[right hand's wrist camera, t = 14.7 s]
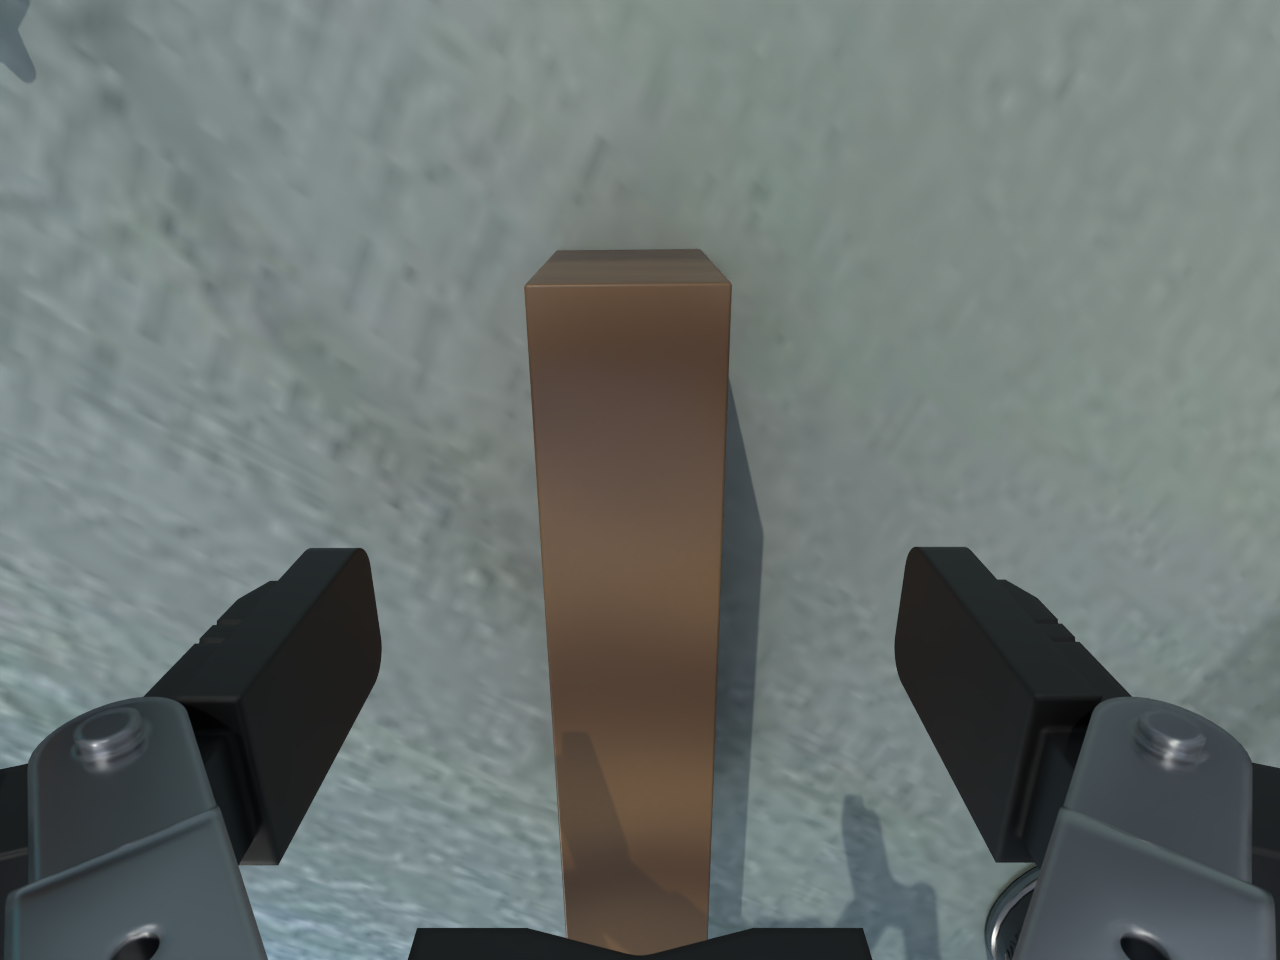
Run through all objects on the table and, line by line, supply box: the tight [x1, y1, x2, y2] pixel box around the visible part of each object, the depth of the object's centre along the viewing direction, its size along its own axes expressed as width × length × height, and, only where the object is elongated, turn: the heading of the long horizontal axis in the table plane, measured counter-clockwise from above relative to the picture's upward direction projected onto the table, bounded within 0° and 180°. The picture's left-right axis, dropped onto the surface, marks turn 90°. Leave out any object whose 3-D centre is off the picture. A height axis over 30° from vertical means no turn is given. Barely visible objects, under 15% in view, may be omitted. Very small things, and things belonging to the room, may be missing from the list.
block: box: [524, 249, 732, 955], centre depth 25 cm, size 22×5×8 cm, turn 0°
